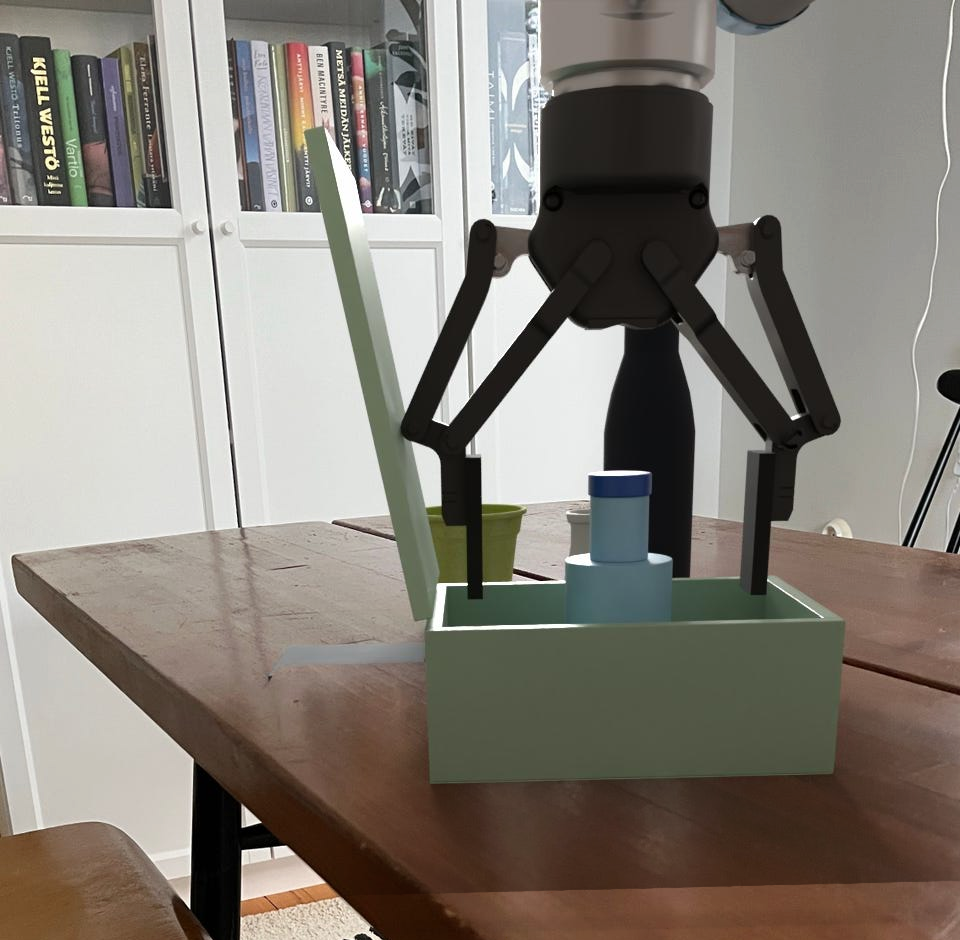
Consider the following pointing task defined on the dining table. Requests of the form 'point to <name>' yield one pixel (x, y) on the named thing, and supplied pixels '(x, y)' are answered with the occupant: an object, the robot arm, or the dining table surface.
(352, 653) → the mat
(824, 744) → the cool chest
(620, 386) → the black bottle
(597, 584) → the water bottle
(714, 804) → the dining table surface
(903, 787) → the dining table surface
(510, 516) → the plant pot
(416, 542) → the lid
